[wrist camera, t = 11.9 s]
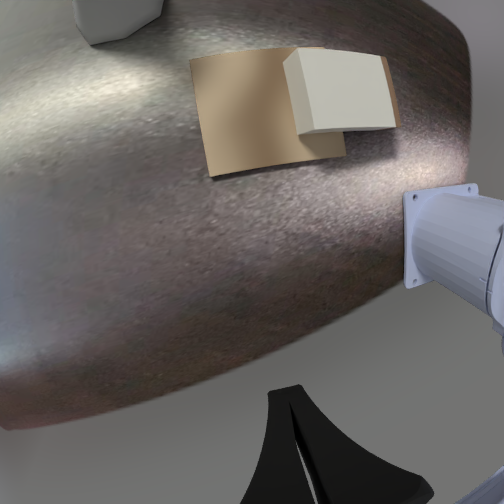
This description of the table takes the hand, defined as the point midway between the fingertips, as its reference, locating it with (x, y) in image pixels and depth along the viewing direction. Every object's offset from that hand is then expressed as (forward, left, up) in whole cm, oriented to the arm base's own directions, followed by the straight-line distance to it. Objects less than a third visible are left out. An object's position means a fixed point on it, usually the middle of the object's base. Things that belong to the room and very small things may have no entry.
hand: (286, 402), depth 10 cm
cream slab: (-4, -13, -8) cm, 16 cm away
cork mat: (-3, -13, -10) cm, 17 cm away
